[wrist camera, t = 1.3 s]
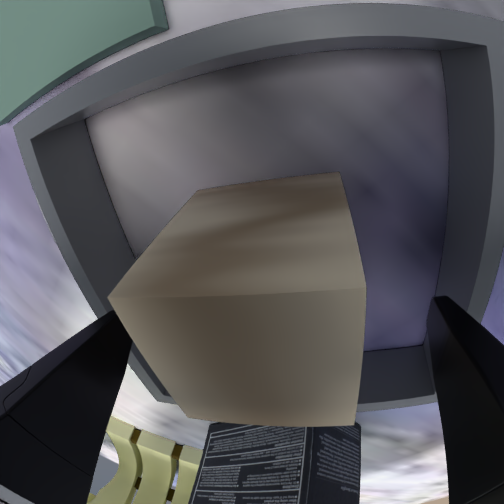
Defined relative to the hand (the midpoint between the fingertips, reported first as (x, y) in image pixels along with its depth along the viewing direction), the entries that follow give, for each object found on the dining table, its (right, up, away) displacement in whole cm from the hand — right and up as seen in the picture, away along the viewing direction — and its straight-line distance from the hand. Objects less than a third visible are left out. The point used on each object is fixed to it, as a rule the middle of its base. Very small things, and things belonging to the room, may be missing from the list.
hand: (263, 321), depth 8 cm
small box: (+2, -11, +12) cm, 17 cm away
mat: (-9, +13, -2) cm, 16 cm away
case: (+1, +2, +3) cm, 4 cm away
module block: (+1, +2, +3) cm, 4 cm away
